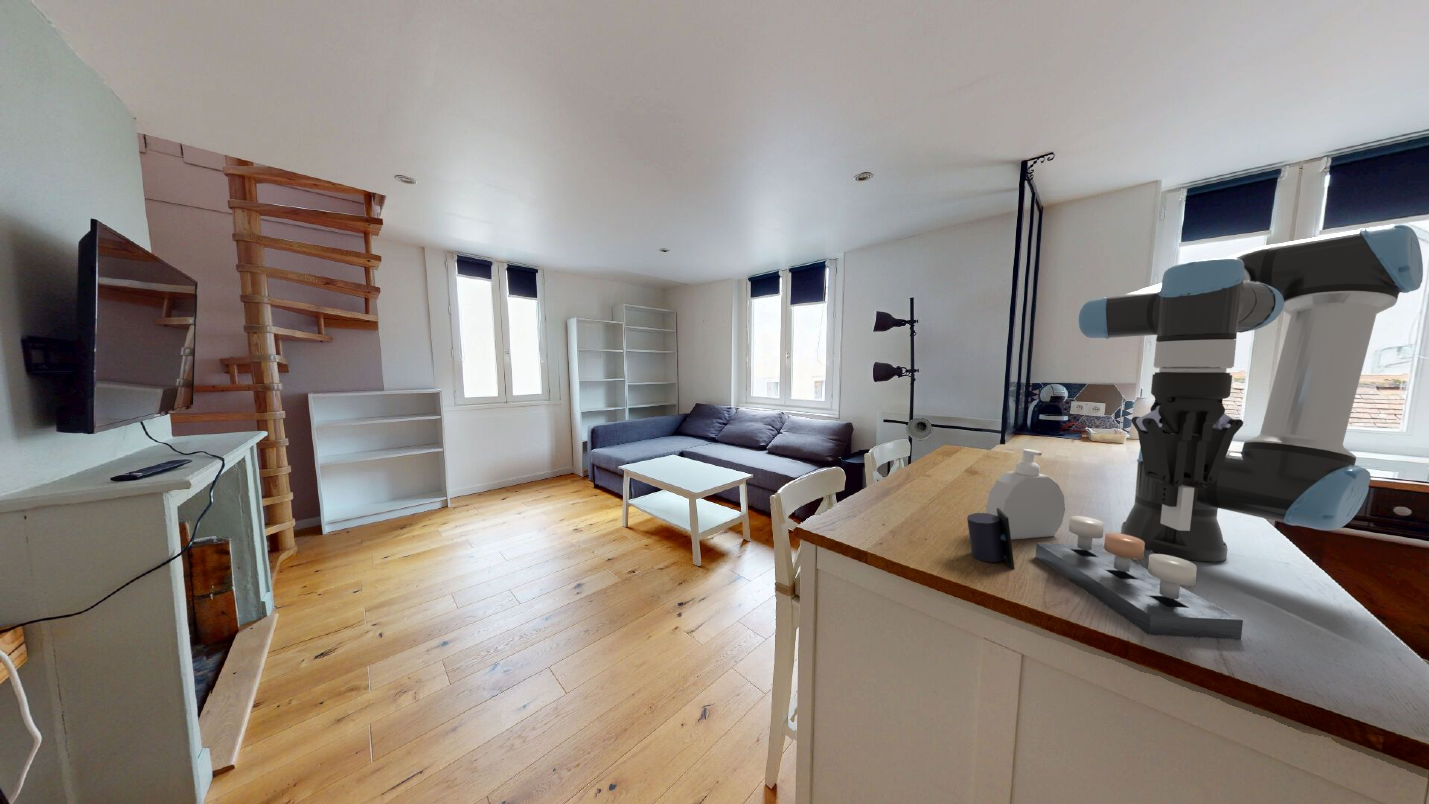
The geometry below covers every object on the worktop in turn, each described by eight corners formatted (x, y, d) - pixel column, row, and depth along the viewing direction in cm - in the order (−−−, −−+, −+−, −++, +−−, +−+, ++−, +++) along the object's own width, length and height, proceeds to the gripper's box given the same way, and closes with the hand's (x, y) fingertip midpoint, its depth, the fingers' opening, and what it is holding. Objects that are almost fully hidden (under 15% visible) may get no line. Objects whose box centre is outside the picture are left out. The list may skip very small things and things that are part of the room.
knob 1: (1087, 542, 80) (1089, 516, 79) (1108, 554, 75) (1111, 525, 74) (1061, 542, 80) (1063, 515, 80) (1080, 553, 75) (1083, 525, 75)
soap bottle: (1003, 541, 90) (1008, 454, 88) (984, 531, 95) (988, 449, 93) (1065, 536, 92) (1071, 451, 90) (1043, 527, 97) (1049, 446, 95)
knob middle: (1124, 562, 72) (1126, 533, 71) (1150, 576, 67) (1153, 545, 67) (1095, 561, 72) (1097, 532, 72) (1119, 575, 68) (1121, 544, 67)
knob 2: (1170, 587, 64) (1173, 554, 63) (1203, 605, 59) (1207, 569, 59) (1137, 586, 64) (1140, 553, 64) (1167, 603, 60) (1171, 568, 59)
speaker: (1016, 557, 82) (1012, 507, 81) (1014, 569, 78) (1010, 518, 77) (972, 550, 87) (968, 503, 86) (968, 561, 83) (964, 512, 82)
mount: (1098, 558, 81) (1100, 544, 81) (1241, 639, 58) (1243, 619, 57) (1035, 556, 83) (1036, 542, 82) (1149, 635, 59) (1150, 615, 58)
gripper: (1211, 370, 62) (1195, 519, 64) (1119, 370, 63) (1106, 516, 65) (1274, 371, 54) (1253, 539, 56) (1167, 371, 55) (1151, 535, 58)
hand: (1174, 526), depth 61 cm, fingers closed
